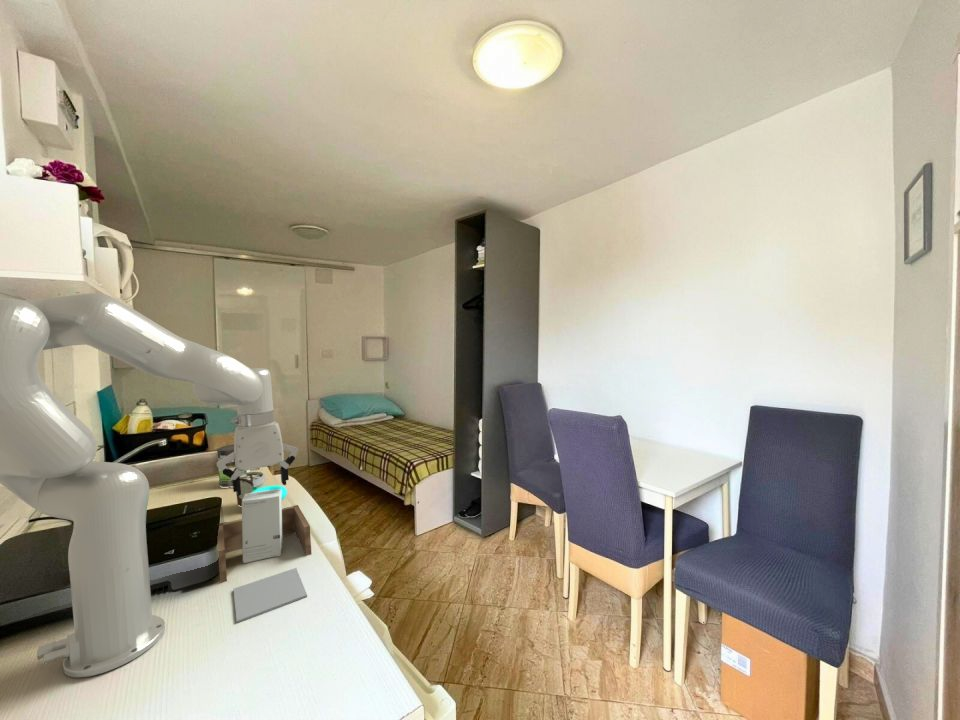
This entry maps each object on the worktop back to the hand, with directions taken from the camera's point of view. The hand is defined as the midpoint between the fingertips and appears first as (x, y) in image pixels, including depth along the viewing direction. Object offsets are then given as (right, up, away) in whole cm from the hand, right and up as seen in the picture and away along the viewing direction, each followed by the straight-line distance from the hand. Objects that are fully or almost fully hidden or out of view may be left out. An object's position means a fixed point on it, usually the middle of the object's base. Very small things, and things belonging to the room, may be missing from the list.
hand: (262, 488), depth 95 cm
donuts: (-7, -16, +16) cm, 24 cm away
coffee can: (-39, -16, +52) cm, 67 cm away
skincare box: (+1, -16, 0) cm, 16 cm away
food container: (-19, -16, +31) cm, 40 cm away
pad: (+10, -16, -16) cm, 25 cm away
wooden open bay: (+1, -16, 0) cm, 16 cm away
